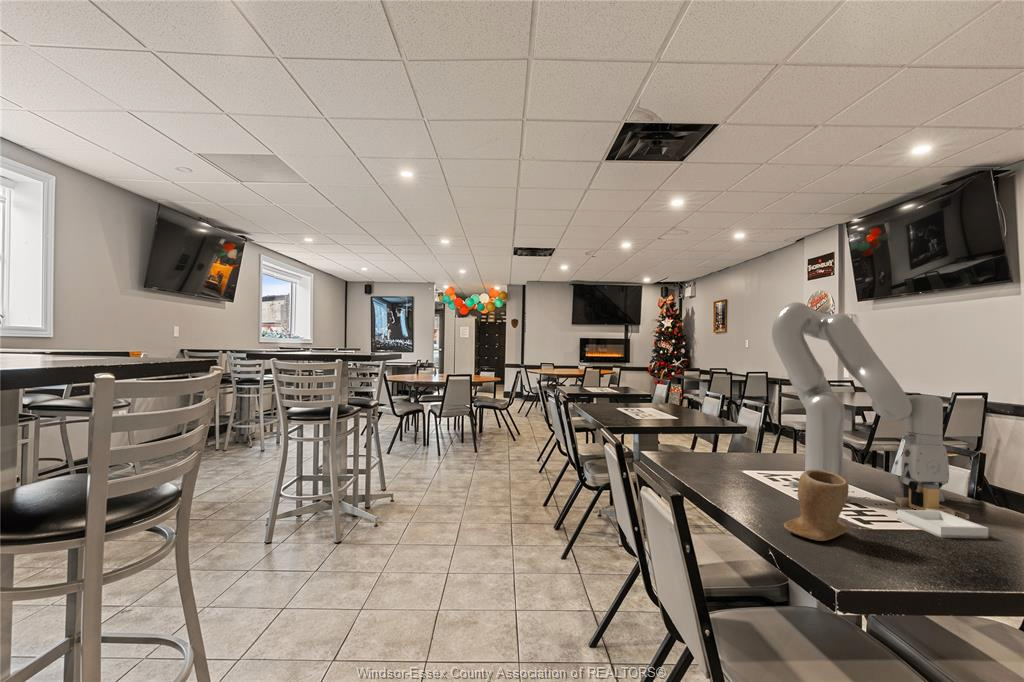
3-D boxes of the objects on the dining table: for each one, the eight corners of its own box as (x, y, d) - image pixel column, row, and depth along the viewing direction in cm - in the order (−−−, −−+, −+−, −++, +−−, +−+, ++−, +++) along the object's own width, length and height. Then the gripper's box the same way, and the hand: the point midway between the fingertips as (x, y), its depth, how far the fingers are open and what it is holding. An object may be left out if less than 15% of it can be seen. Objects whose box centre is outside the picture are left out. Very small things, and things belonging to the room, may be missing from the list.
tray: (940, 537, 110) (940, 526, 110) (897, 519, 122) (897, 509, 122) (988, 538, 110) (988, 527, 110) (939, 520, 122) (940, 510, 122)
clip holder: (932, 518, 123) (932, 510, 123) (895, 504, 135) (895, 497, 135) (969, 519, 123) (969, 511, 124) (928, 504, 135) (928, 497, 135)
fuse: (928, 514, 126) (928, 485, 126) (908, 507, 132) (908, 479, 132) (938, 515, 126) (939, 485, 126) (918, 507, 132) (919, 479, 132)
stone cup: (831, 551, 100) (832, 481, 100) (776, 532, 110) (777, 468, 110) (864, 538, 107) (865, 473, 108) (810, 521, 118) (811, 462, 118)
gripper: (907, 441, 126) (906, 509, 125) (966, 443, 126) (965, 511, 126) (884, 436, 133) (883, 500, 133) (939, 437, 134) (939, 502, 133)
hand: (923, 505), depth 129 cm, fingers closed on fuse, 3 cm apart
